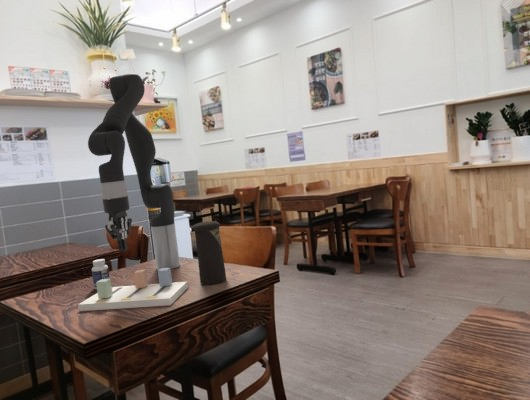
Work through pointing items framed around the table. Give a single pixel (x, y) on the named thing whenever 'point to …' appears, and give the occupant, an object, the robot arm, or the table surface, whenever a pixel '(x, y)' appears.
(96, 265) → the pill bottle
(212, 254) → the container
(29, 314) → the table surface
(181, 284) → the panel
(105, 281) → the sage lever
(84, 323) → the table surface
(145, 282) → the terracotta lever
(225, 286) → the table surface
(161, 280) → the slate lever
